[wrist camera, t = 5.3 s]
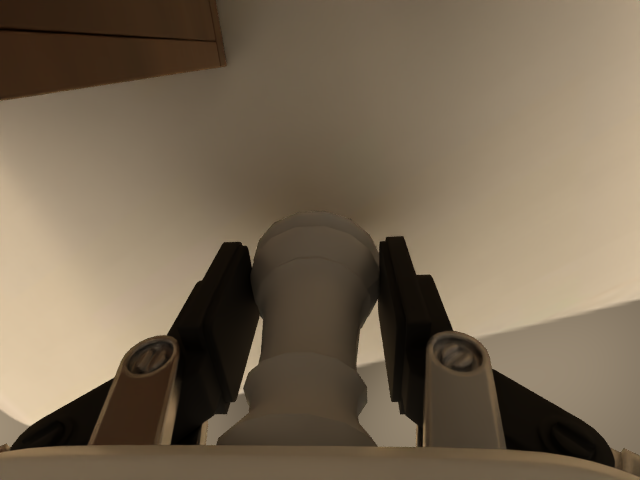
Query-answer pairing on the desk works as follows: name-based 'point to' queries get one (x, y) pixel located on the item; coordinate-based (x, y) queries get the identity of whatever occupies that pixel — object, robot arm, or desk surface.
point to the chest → (103, 42)
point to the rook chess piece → (309, 333)
